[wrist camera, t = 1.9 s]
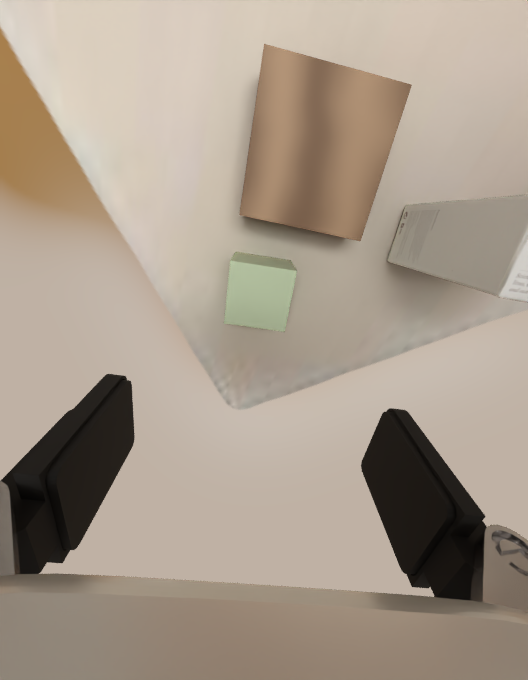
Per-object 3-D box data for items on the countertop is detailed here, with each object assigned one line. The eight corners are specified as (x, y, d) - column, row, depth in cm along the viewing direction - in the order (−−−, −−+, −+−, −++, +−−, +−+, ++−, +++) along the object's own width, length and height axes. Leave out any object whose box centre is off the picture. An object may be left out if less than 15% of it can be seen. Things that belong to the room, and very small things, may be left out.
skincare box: (385, 261, 30) (486, 302, 16) (405, 200, 27) (544, 189, 14) (456, 273, 30) (611, 321, 17) (483, 214, 28) (689, 216, 14)
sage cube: (290, 260, 30) (297, 271, 24) (280, 311, 32) (284, 331, 27) (235, 251, 29) (230, 260, 24) (230, 304, 32) (223, 323, 26)
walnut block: (383, 108, 24) (411, 84, 20) (344, 236, 29) (360, 241, 24) (263, 76, 23) (264, 43, 19) (242, 214, 28) (239, 215, 23)
